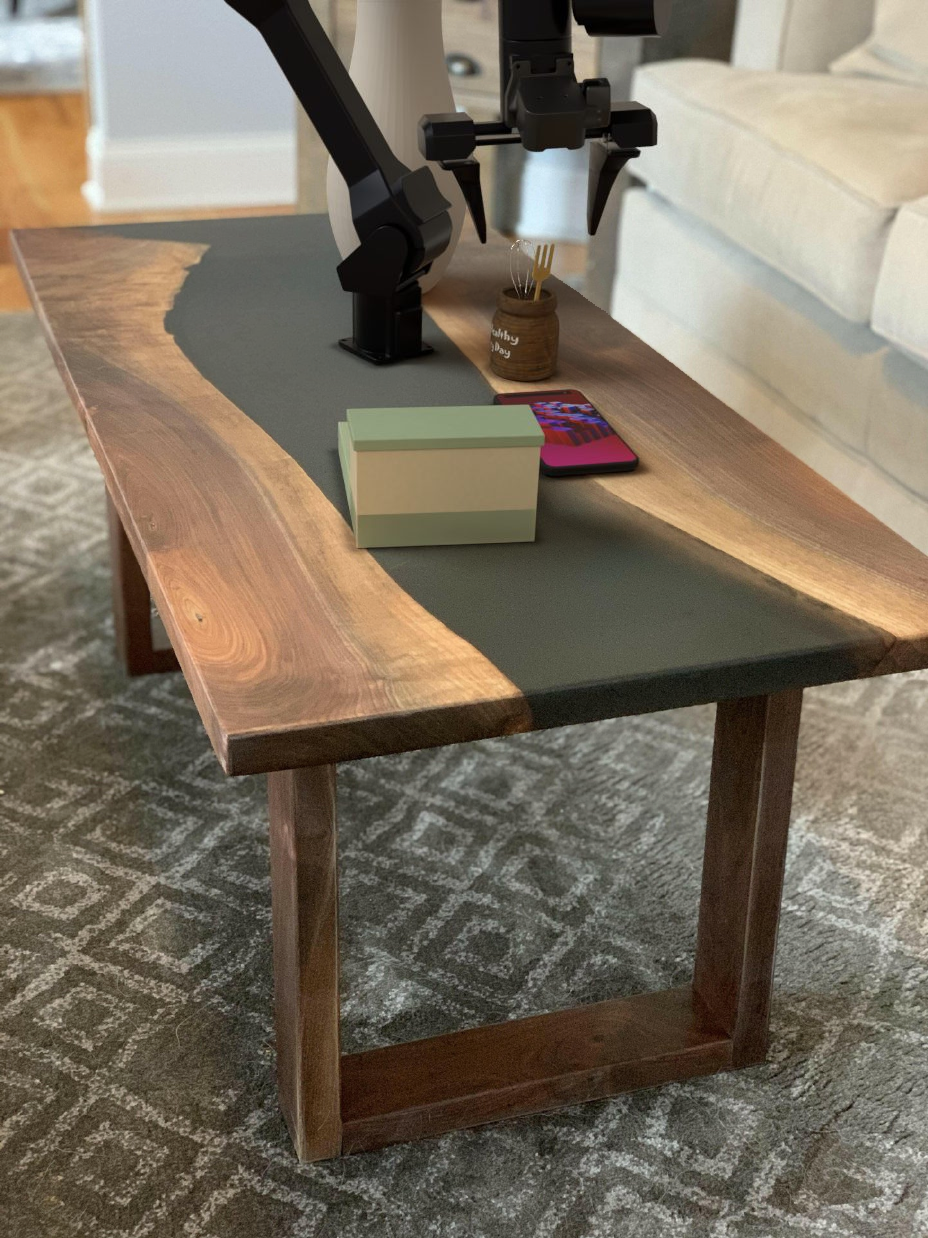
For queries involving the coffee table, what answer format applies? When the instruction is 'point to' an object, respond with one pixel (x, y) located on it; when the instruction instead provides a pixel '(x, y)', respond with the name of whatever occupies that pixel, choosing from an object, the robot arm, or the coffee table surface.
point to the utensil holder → (526, 326)
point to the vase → (399, 105)
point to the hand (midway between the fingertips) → (537, 238)
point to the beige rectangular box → (441, 474)
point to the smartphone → (573, 433)
